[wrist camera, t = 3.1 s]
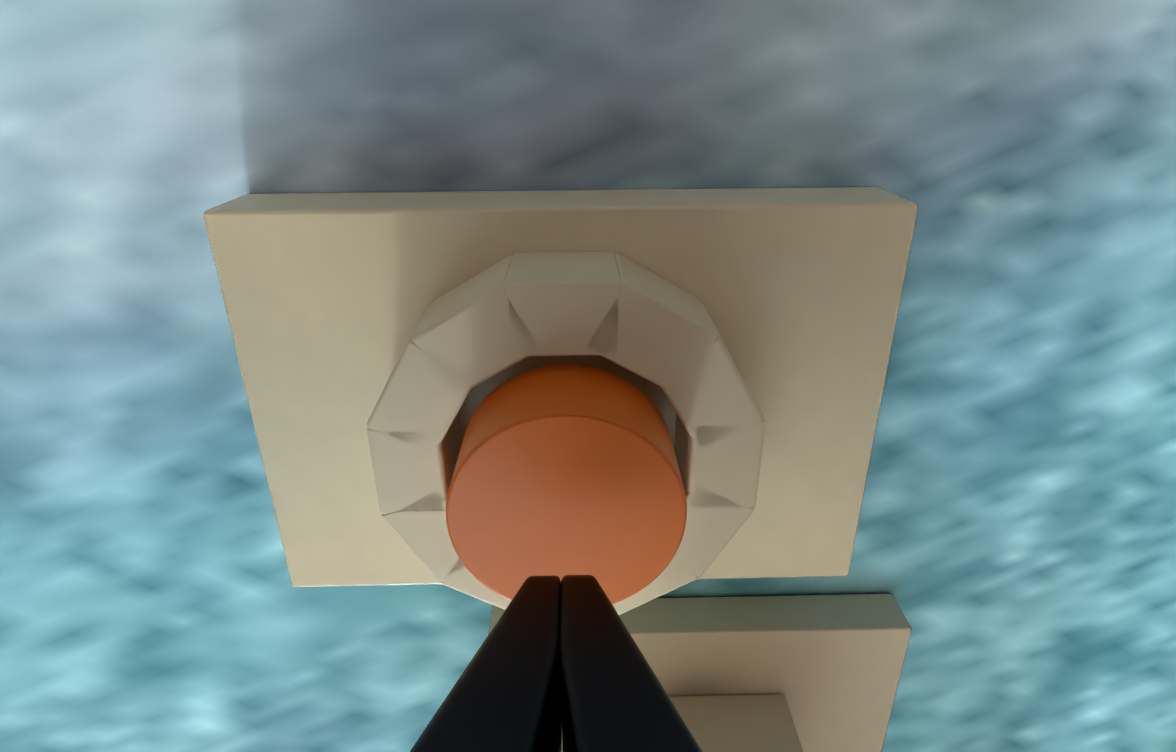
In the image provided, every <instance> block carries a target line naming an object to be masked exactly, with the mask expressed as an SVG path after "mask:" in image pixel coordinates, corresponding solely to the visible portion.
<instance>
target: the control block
mask: <svg viewBox="0 0 1176 752" xmlns="http://www.w3.org/2000/svg"><path fill="white" fill-rule="evenodd" d="M917 210H918V204H917V203H915V202H913V201H910V200H908V199H905V198H903V197H901V196H898V195H896V194H893V193H891V192H888V191H886V190H884V189H881V188H879V187H825V188H734V189H644V190H553V191H463V192H372V193H281V194H246V195H244V196H241V197H239V198H236V199H234V200H231V201H229V202H226V203H224V204H222V205H219V206H217V207H214V208H212V209H209V210H207V211H205V212H204V219H205V223H206V227H207V231H208V236H209V240H210V244H211V248H212V252H213V256H214V261H215V265H216V269H217V273H218V277H219V282H220V286H221V290H222V294H223V298H224V302H225V307H226V311H227V315H228V319H229V323H230V328H231V332H232V336H233V340H234V344H235V349H236V353H237V357H238V361H239V365H240V369H241V374H242V378H243V382H244V386H245V390H246V395H247V399H248V403H249V407H250V411H251V415H252V420H253V424H254V428H255V432H256V436H257V441H258V445H259V449H260V453H261V457H262V461H263V466H264V470H265V474H266V478H267V482H268V487H269V491H270V495H271V499H272V503H273V508H274V512H275V516H276V520H277V524H278V528H279V533H280V537H281V541H282V545H283V549H284V554H285V558H286V562H287V566H288V570H289V574H290V579H291V583H292V585H293V586H294V587H317V586H368V585H420V584H443V585H445V586H448V587H450V588H453V589H455V590H458V591H460V592H463V593H465V594H467V595H470V596H472V597H475V598H477V599H480V600H482V601H485V602H487V603H489V604H492V605H494V606H497V607H499V608H502V609H504V610H506V608H507V607H508V605H509V604H510V602H511V600H509V599H506V598H504V597H502V596H500V595H498V594H497V593H495V592H494V591H492V590H490V589H489V588H487V587H486V586H485V585H484V584H482V583H481V582H480V581H479V580H477V579H476V578H475V577H474V576H473V574H472V573H471V572H470V571H469V570H468V569H467V568H466V567H465V565H464V564H463V562H462V561H461V560H460V558H459V556H458V554H457V553H456V551H455V549H454V547H453V545H452V542H451V539H450V536H449V533H448V528H447V523H446V500H447V493H448V490H449V486H450V483H451V479H452V476H453V473H454V469H455V466H456V462H457V459H458V455H459V452H460V448H461V445H462V442H463V438H464V435H465V431H466V428H467V425H468V423H469V421H470V419H471V417H472V415H473V413H474V412H475V410H476V409H477V407H478V406H479V404H480V403H481V402H482V401H483V400H484V399H485V398H486V397H487V395H488V394H490V393H491V392H492V391H493V390H494V389H495V388H497V387H498V386H499V385H501V384H502V383H504V382H505V381H507V380H509V379H510V378H512V377H514V376H516V375H519V374H521V373H523V372H526V371H529V370H532V369H535V368H539V367H544V366H549V365H560V364H575V365H585V366H591V367H596V368H599V369H602V370H606V371H609V372H611V373H613V374H616V375H618V376H620V377H622V378H624V379H626V380H627V381H629V382H631V383H632V384H634V385H635V386H636V387H638V388H639V389H640V390H641V391H643V392H644V393H645V394H646V395H647V396H648V397H649V398H650V399H651V400H652V401H653V403H654V404H655V405H656V407H657V408H658V410H659V411H660V412H661V414H662V416H663V418H664V420H665V422H666V424H667V427H668V430H669V433H670V436H671V440H672V444H673V448H674V451H675V455H676V459H677V463H678V467H679V471H680V475H681V478H682V482H683V486H684V490H685V496H686V501H687V520H686V527H685V531H684V535H683V538H682V541H681V543H680V545H679V548H678V550H677V552H676V554H675V556H674V557H673V559H672V560H671V562H670V563H669V565H668V566H667V567H666V568H665V569H664V571H663V572H662V573H661V574H660V575H659V576H658V577H657V578H656V579H655V580H654V581H652V582H651V583H650V584H649V585H648V586H646V587H645V588H643V589H642V590H640V591H639V592H637V593H636V594H634V595H632V596H630V597H628V598H626V599H624V600H622V601H619V602H616V603H614V604H612V605H613V607H614V608H615V610H616V612H617V613H618V615H620V614H623V613H625V612H627V611H629V610H631V609H634V608H636V607H638V606H640V605H642V604H644V603H647V602H649V601H651V600H653V599H655V598H658V597H660V596H662V595H664V594H666V593H668V592H671V591H673V590H675V589H677V588H679V587H682V586H684V585H686V584H688V583H690V582H692V581H695V580H697V579H729V578H781V577H832V576H847V575H848V573H849V567H850V562H851V557H852V552H853V546H854V541H855V536H856V531H857V525H858V520H859V515H860V510H861V504H862V499H863V494H864V489H865V483H866V478H867V473H868V468H869V462H870V457H871V452H872V447H873V441H874V436H875V431H876V426H877V420H878V415H879V410H880V405H881V399H882V394H883V389H884V384H885V378H886V373H887V368H888V363H889V357H890V352H891V347H892V342H893V336H894V331H895V326H896V321H897V315H898V310H899V305H900V300H901V294H902V289H903V284H904V279H905V273H906V268H907V263H908V258H909V252H910V247H911V242H912V237H913V231H914V226H915V221H916V216H917Z"/></svg>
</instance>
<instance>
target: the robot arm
mask: <svg viewBox="0 0 1176 752" xmlns="http://www.w3.org/2000/svg"><path fill="white" fill-rule="evenodd" d="M562 749H563V752H702V750H701V748H700V747H699V745H698V743H697V742H696V740H695V739H694V737H693V735H692V734H691V732H690V730H689V729H688V727H687V726H686V724H685V722H684V721H683V719H682V717H681V716H680V714H679V712H678V711H677V709H676V708H675V706H674V704H673V703H672V701H671V699H670V698H669V696H668V695H667V693H666V691H665V690H664V688H663V686H662V685H661V683H660V682H659V680H658V678H657V677H656V675H655V673H654V672H653V670H652V669H651V667H650V665H649V664H648V662H647V660H646V659H645V657H644V656H643V654H642V652H641V651H640V649H639V647H638V646H637V644H636V642H635V641H634V639H633V638H632V636H631V634H630V633H629V631H628V629H627V628H626V626H625V625H624V623H623V621H622V620H621V618H620V616H619V615H618V613H617V612H616V610H615V608H614V607H613V605H612V603H611V602H610V600H609V599H608V597H607V595H606V594H605V592H604V590H603V589H602V587H601V586H600V584H599V582H598V581H597V579H596V578H595V577H594V576H592V575H565V576H564V577H563V578H562V580H560V578H559V577H558V576H556V575H547V576H530V577H528V578H527V579H526V580H525V581H524V583H523V584H522V586H521V587H520V589H519V590H518V592H517V593H516V595H515V596H514V598H513V599H512V601H511V602H510V604H509V605H508V607H507V608H506V610H505V611H504V613H503V614H502V616H501V617H500V619H499V620H498V621H497V623H496V624H495V626H494V627H493V629H492V630H491V632H490V633H489V635H488V636H487V638H486V639H485V641H484V642H483V644H482V645H481V647H480V648H479V650H478V651H477V653H476V654H475V656H474V657H473V659H472V660H471V662H470V663H469V665H468V666H467V668H466V669H465V671H464V672H463V674H462V675H461V677H460V678H459V679H458V681H457V682H456V684H455V685H454V687H453V688H452V690H451V691H450V693H449V694H448V696H447V697H446V699H445V700H444V702H443V703H442V705H441V706H440V708H439V709H438V711H437V712H436V714H435V715H434V717H433V718H432V720H431V721H430V723H429V724H428V726H427V727H426V729H425V730H424V732H423V733H422V735H421V736H420V737H419V739H418V740H417V742H416V743H415V745H414V746H413V748H412V749H411V751H410V752H562Z"/></svg>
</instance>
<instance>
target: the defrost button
mask: <svg viewBox="0 0 1176 752" xmlns="http://www.w3.org/2000/svg"><path fill="white" fill-rule="evenodd" d="M686 520H687V501H686V496H685V490H684V486H683V482H682V478H681V475H680V471H679V467H678V463H677V459H676V455H675V451H674V448H673V444H672V440H671V436H670V433H669V430H668V427H667V424H666V422H665V420H664V418H663V416H662V414H661V412H660V411H659V410H658V408H657V407H656V405H655V404H654V403H653V401H652V400H651V399H650V398H649V397H648V396H647V395H646V394H645V393H644V392H643V391H641V390H640V389H639V388H638V387H636V386H635V385H634V384H632V383H631V382H629V381H627V380H626V379H624V378H622V377H620V376H618V375H616V374H613V373H611V372H609V371H606V370H602V369H599V368H596V367H591V366H585V365H575V364H560V365H549V366H544V367H539V368H535V369H532V370H529V371H526V372H523V373H521V374H519V375H516V376H514V377H512V378H510V379H509V380H507V381H505V382H504V383H502V384H501V385H499V386H498V387H497V388H495V389H494V390H493V391H492V392H491V393H490V394H488V395H487V397H486V398H485V399H484V400H483V401H482V402H481V403H480V404H479V406H478V407H477V409H476V410H475V412H474V413H473V415H472V417H471V419H470V421H469V423H468V425H467V428H466V431H465V435H464V438H463V442H462V445H461V448H460V452H459V455H458V459H457V462H456V466H455V469H454V473H453V476H452V479H451V483H450V486H449V490H448V493H447V500H446V523H447V528H448V533H449V536H450V539H451V542H452V545H453V547H454V549H455V551H456V553H457V554H458V556H459V558H460V560H461V561H462V562H463V564H464V565H465V567H466V568H467V569H468V570H469V571H470V572H471V573H472V574H473V576H474V577H475V578H476V579H477V580H479V581H480V582H481V583H482V584H484V585H485V586H486V587H487V588H489V589H490V590H492V591H494V592H495V593H497V594H498V595H500V596H502V597H504V598H506V599H509V600H511V601H512V599H513V598H514V596H515V595H516V593H517V592H518V590H519V589H520V587H521V586H522V584H523V583H524V581H525V580H526V579H527V578H528V577H530V576H547V575H556V576H558V577H559V578H560V580H562V578H563V577H564V576H565V575H592V576H594V577H595V578H596V579H597V581H598V582H599V584H600V586H601V587H602V589H603V590H604V592H605V594H606V595H607V597H608V599H609V600H610V602H611V603H612V604H614V603H616V602H619V601H622V600H624V599H626V598H628V597H630V596H632V595H634V594H636V593H637V592H639V591H640V590H642V589H643V588H645V587H646V586H648V585H649V584H650V583H651V582H652V581H654V580H655V579H656V578H657V577H658V576H659V575H660V574H661V573H662V572H663V571H664V569H665V568H666V567H667V566H668V565H669V563H670V562H671V560H672V559H673V557H674V556H675V554H676V552H677V550H678V548H679V545H680V543H681V541H682V538H683V535H684V531H685V527H686Z"/></svg>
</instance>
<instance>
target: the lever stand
mask: <svg viewBox="0 0 1176 752" xmlns="http://www.w3.org/2000/svg"><path fill="white" fill-rule="evenodd" d="M504 611H505V610H504V609H502V608H499V607H497V606H494V605H493V607H492V614H491V621H490V627H489V633H490V632H491V630H492V629H493V627H494V626H495V624H496V623H497V621H498V620H499V619H500V617H501V616H502V614H503V613H504ZM619 616H620V618H621V620H622V621H623V623H624V625H625V626H626V628H627V629H628V631H629V633H630V634H631V636H632V638H633V639H634V641H635V642H636V644H637V646H638V647H639V649H640V651H641V652H642V654H643V656H644V657H645V659H646V660H647V662H648V664H649V665H650V667H651V669H652V670H653V672H654V673H655V675H656V677H657V678H658V680H659V682H660V683H661V685H662V686H663V688H664V690H665V691H666V693H667V695H668V696H669V698H670V699H671V701H672V703H673V704H674V706H675V708H676V709H677V711H678V712H679V714H680V716H681V717H682V719H683V721H684V722H685V724H686V726H687V727H688V729H689V730H690V732H691V734H692V735H693V737H694V739H695V740H696V742H697V743H698V745H699V747H700V748H701V750H702V752H881V751H882V747H883V743H884V739H885V735H886V731H887V727H888V723H889V719H890V715H891V711H892V707H893V703H894V699H895V695H896V691H897V687H898V683H899V679H900V675H901V671H902V667H903V663H904V659H905V655H906V651H907V647H908V643H909V639H910V635H911V631H912V628H911V626H910V624H909V623H908V621H907V619H906V618H905V616H904V614H903V613H902V611H901V609H900V608H899V606H898V604H897V603H896V601H895V599H894V598H893V596H892V594H848V595H798V596H747V597H696V598H655V599H653V600H651V601H649V602H647V603H644V604H642V605H640V606H638V607H636V608H634V609H631V610H629V611H627V612H625V613H623V614H620V615H619ZM488 635H489V634H488ZM562 752H563V749H562Z"/></svg>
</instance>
